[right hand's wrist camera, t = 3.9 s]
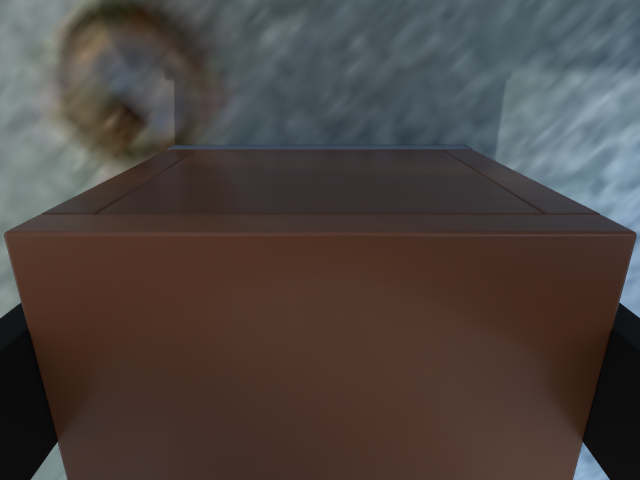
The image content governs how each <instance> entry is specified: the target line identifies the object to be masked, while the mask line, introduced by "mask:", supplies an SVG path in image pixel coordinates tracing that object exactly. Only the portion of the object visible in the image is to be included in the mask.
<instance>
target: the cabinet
mask: <svg viewBox="0 0 640 480" xmlns="http://www.w3.org/2000/svg"><path fill="white" fill-rule="evenodd" d="M4 238H5V242H6V245H7V249H8V253H9V257H10V261H11V265H12V268H13V272H14V276H15V280H16V284H17V288H18V291H19V295H20V299H21V303H22V307H23V311H24V315H25V318H26V322H27V326H28V330H29V334H30V338H31V341H32V345H33V349H34V353H35V357H36V361H37V365H38V368H39V372H40V376H41V380H42V384H43V388H44V391H45V395H46V399H47V403H48V407H49V411H50V414H51V418H52V422H53V426H54V430H55V434H56V438H57V441H58V445H59V449H60V453H61V457H62V461H63V464H64V468H65V472H66V476H67V480H573V477H574V473H575V469H576V466H577V462H578V458H579V454H580V450H581V446H582V443H583V439H584V435H585V431H586V427H587V424H588V420H589V416H590V412H591V408H592V404H593V401H594V397H595V393H596V389H597V385H598V381H599V378H600V374H601V370H602V366H603V362H604V359H605V355H606V351H607V347H608V343H609V339H610V336H611V332H612V328H613V324H614V320H615V316H616V313H617V309H618V305H619V301H620V297H621V294H622V290H623V286H624V282H625V278H626V274H627V271H628V267H629V263H630V259H631V255H632V252H633V248H634V244H635V240H636V232H634V231H632V230H630V229H628V228H626V227H624V226H622V225H620V224H618V223H616V222H614V221H612V220H610V219H608V218H606V217H604V216H602V215H600V214H599V213H598V212H596V211H594V210H592V209H590V208H588V207H586V206H584V205H582V204H580V203H578V202H576V201H574V200H572V199H570V198H568V197H566V196H564V195H562V194H560V193H558V192H556V191H554V190H552V189H550V188H548V187H546V186H544V185H542V184H540V183H538V182H536V181H534V180H532V179H530V178H528V177H526V176H524V175H522V174H520V173H518V172H516V171H514V170H512V169H510V168H508V167H506V166H504V165H502V164H500V163H498V162H496V161H494V160H492V159H490V158H488V157H486V156H484V155H482V154H480V153H478V152H476V151H474V150H472V148H470V147H468V146H466V145H174V146H172V147H170V148H168V149H167V151H164V152H162V153H160V154H158V155H156V156H155V157H153V158H151V159H149V160H147V161H145V162H143V163H141V164H139V165H137V166H135V167H133V168H131V169H129V170H127V171H125V172H123V173H121V174H119V175H117V176H115V177H113V178H111V179H109V180H107V181H105V182H103V183H101V184H99V185H97V186H95V187H93V188H91V189H89V190H87V191H85V192H83V193H81V194H79V195H77V196H75V197H73V198H71V199H69V200H68V201H66V202H64V203H62V204H60V205H58V206H56V207H54V208H52V209H50V210H48V211H46V212H44V213H42V214H41V215H38V216H36V217H34V218H32V219H30V220H28V221H26V222H24V223H22V224H20V225H18V226H16V227H14V228H12V229H11V230H9V231H7V232H5V233H4Z"/></svg>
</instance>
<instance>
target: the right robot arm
mask: <svg viewBox="0 0 640 480" xmlns="http://www.w3.org/2000/svg"><path fill="white" fill-rule="evenodd" d="M57 442H58V441H57V438H56V434H55V430H54V426H53V422H52V418H51V414H50V411H49V407H48V403H47V399H46V395H45V391H44V388H43V384H42V380H41V376H40V372H39V368H38V365H37V361H36V357H35V353H34V349H33V345H32V341H31V338H30V334H29V330H28V326H27V322H26V318H25V315H24V311H23V307H22V303H20V304H19V305H17V306H16V307H15V308H13V309H12V310H11V311H9V312H8V313H7V314H6V315H4V316H3V317H2V318H0V480H31V478H32V477H33V476H34V474H35V473H36V471H37V470H38V469H39V467H40V466H41V464H42V463H43V462H44V460H45V459H46V457H47V456H48V454H49V453H50V452H51V450H52V449H53V447H54V446H55V445H56V443H57ZM583 443H584V444H585V445H586V447H587V448H588V450H589V451H590V452H591V454H592V455H593V457H594V458H595V459H596V461H597V462H598V464H599V465H600V466H601V468H602V469H603V471H604V472H605V473H606V475H607V476H608V478H609V479H610V480H640V318H639V317H638V316H636V315H635V314H634V313H632V312H631V311H630V310H628V309H627V308H626V307H625V306H623V305H622V304H621V303H619V305H618V309H617V313H616V316H615V320H614V324H613V328H612V332H611V336H610V339H609V343H608V347H607V351H606V355H605V359H604V362H603V366H602V370H601V374H600V378H599V381H598V385H597V389H596V393H595V397H594V401H593V404H592V408H591V412H590V416H589V420H588V424H587V427H586V431H585V435H584V439H583Z"/></svg>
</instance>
